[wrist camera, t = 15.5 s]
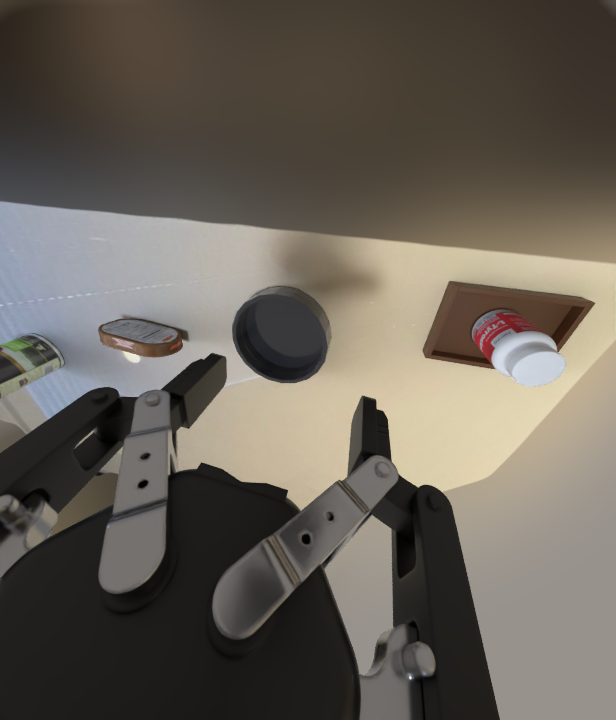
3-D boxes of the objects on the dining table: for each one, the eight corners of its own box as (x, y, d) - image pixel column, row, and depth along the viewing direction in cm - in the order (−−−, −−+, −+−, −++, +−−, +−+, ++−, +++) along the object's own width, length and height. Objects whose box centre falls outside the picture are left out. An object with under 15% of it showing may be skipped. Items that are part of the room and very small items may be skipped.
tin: (127, 326, 51) (88, 344, 44) (123, 312, 49) (82, 329, 42) (192, 343, 49) (163, 364, 42) (190, 329, 48) (159, 349, 41)
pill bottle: (485, 303, 33) (529, 337, 24) (530, 314, 33) (592, 354, 24) (461, 340, 37) (492, 383, 28) (501, 351, 36) (546, 398, 27)
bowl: (260, 267, 38) (249, 273, 34) (348, 318, 39) (346, 329, 36) (233, 343, 47) (222, 355, 43) (306, 382, 48) (300, 397, 45)
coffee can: (18, 328, 59) (-68, 357, 47) (54, 339, 58) (-25, 371, 46) (37, 362, 65) (-36, 395, 53) (70, 372, 64) (4, 408, 52)
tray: (581, 297, 31) (595, 302, 29) (531, 368, 37) (540, 376, 35) (449, 281, 33) (454, 285, 32) (422, 350, 40) (425, 357, 38)
